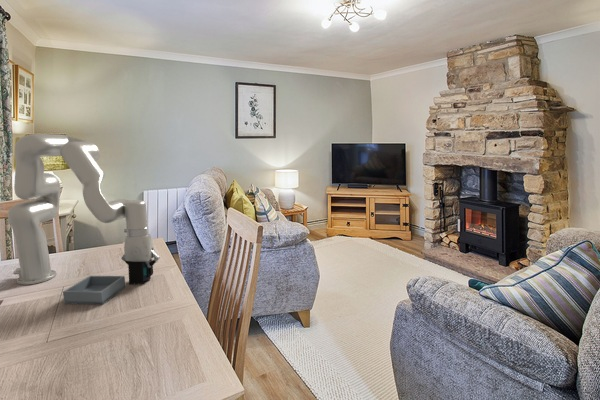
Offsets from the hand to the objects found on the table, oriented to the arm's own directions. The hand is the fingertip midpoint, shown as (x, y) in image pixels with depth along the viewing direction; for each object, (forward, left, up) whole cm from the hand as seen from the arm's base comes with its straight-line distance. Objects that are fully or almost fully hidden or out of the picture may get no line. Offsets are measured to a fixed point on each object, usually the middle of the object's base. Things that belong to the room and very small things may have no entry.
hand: (142, 275), depth 132 cm
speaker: (-1, 0, -2) cm, 2 cm away
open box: (-10, -13, -2) cm, 17 cm away
